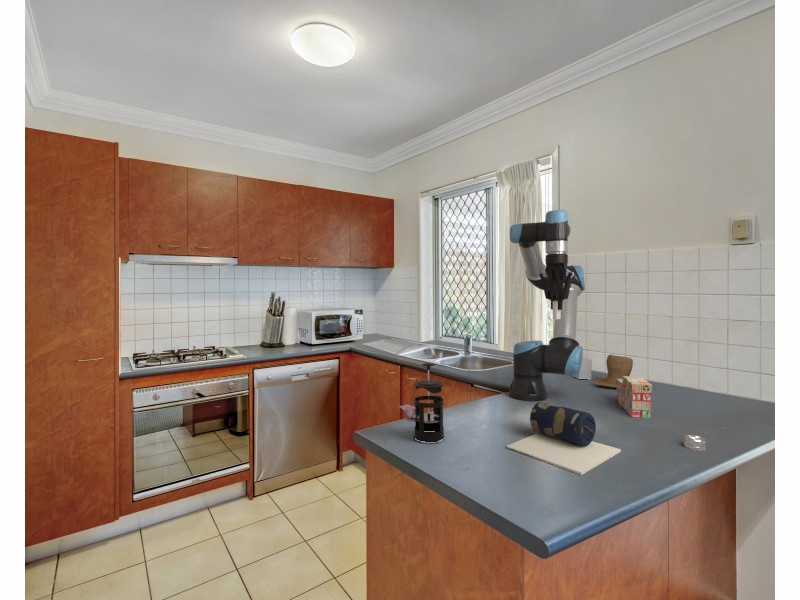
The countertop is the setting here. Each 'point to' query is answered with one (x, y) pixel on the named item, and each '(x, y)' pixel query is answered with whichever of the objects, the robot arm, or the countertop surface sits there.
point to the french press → (428, 419)
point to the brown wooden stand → (615, 370)
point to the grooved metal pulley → (695, 442)
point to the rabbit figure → (409, 410)
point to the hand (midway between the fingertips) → (556, 318)
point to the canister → (563, 423)
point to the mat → (565, 452)
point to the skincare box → (585, 369)
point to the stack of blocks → (635, 396)
